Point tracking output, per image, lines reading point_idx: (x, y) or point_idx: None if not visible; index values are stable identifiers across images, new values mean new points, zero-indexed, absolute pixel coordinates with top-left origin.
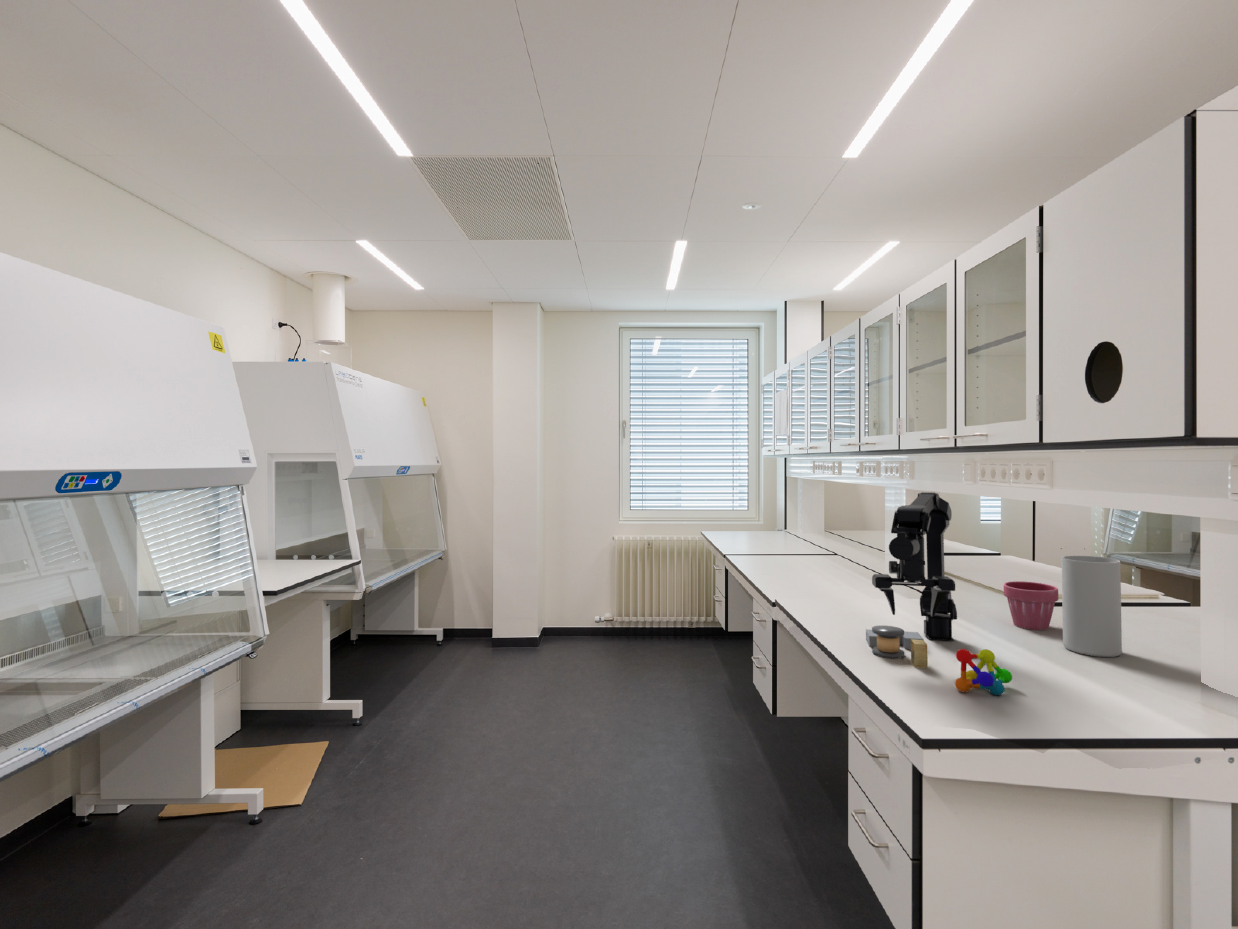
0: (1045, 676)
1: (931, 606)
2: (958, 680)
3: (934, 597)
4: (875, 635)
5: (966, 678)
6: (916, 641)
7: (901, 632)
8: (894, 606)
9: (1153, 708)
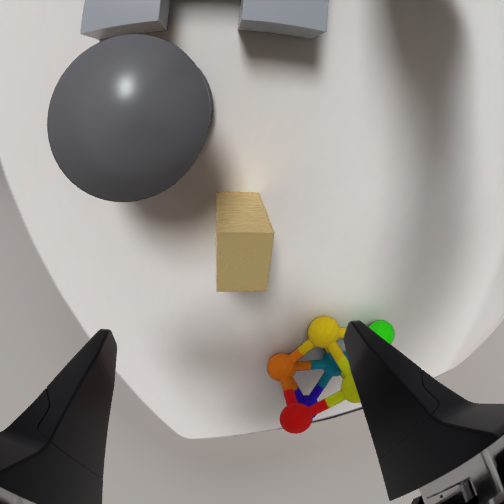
0: (472, 245)
1: (376, 370)
2: (273, 378)
3: (394, 450)
4: (109, 13)
5: (308, 336)
6: (234, 259)
7: (185, 165)
8: (108, 411)
9: (474, 327)
